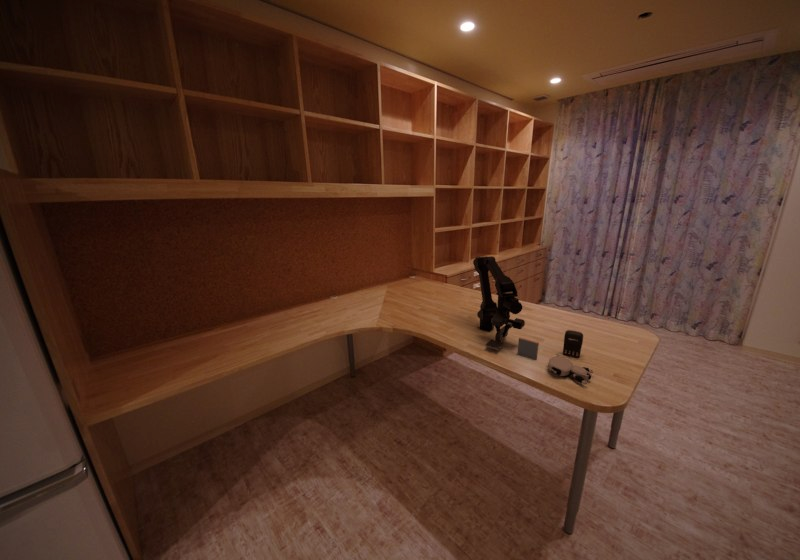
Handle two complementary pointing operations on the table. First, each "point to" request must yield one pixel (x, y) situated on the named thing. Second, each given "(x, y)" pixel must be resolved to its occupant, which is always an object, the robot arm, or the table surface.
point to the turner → (497, 340)
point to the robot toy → (569, 369)
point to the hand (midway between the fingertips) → (501, 336)
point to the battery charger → (572, 343)
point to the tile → (528, 348)
